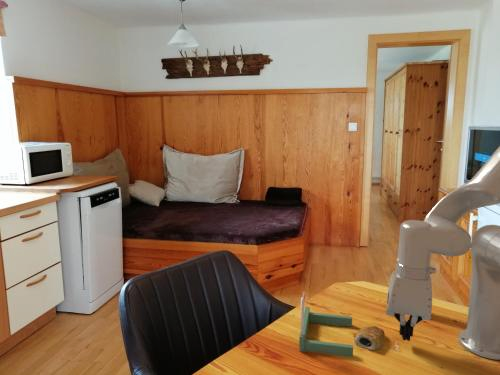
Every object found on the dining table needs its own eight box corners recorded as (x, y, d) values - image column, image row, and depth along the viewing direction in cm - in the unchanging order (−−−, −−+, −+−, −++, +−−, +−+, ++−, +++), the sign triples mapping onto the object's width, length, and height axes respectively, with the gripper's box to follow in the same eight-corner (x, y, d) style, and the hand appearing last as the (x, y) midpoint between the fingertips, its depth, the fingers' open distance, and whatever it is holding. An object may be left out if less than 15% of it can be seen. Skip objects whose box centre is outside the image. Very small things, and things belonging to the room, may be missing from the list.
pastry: (366, 329, 109) (367, 317, 108) (390, 338, 104) (391, 325, 104) (352, 345, 102) (352, 331, 101) (377, 354, 97) (378, 340, 97)
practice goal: (351, 324, 111) (353, 278, 108) (352, 357, 96) (354, 305, 93) (305, 319, 114) (305, 274, 112) (299, 351, 99) (299, 300, 96)
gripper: (441, 267, 98) (433, 334, 102) (379, 261, 102) (374, 326, 105) (449, 279, 91) (440, 350, 94) (382, 272, 94) (376, 341, 98)
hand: (405, 337), depth 100 cm, fingers closed
